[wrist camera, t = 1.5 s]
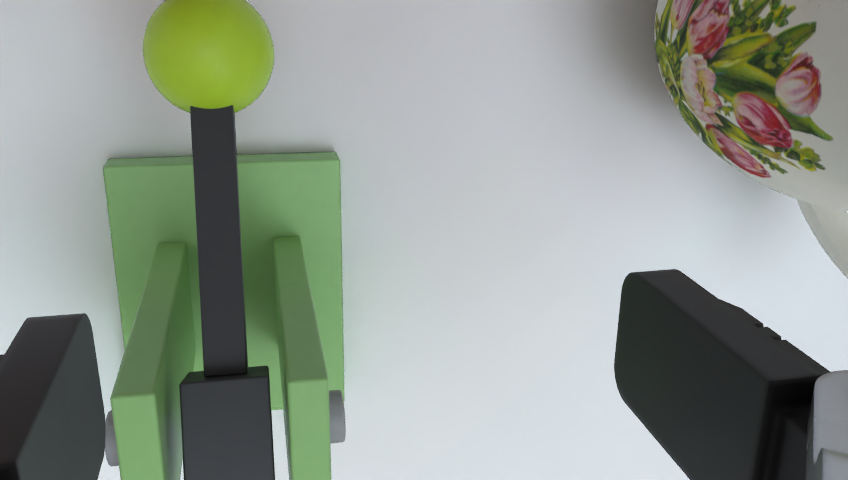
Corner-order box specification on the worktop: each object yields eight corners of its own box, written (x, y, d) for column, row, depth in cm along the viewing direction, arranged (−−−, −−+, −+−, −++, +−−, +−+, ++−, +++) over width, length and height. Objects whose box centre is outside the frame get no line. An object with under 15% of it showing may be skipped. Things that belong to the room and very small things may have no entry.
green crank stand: (107, 158, 28) (19, 288, 17) (336, 151, 29) (390, 265, 18) (137, 407, 31) (79, 650, 20) (341, 388, 33) (389, 604, 22)
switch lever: (149, 11, 23) (129, -35, 19) (269, 11, 23) (271, -33, 20) (172, 471, 22) (156, 506, 19) (294, 458, 23) (300, 489, 20)
